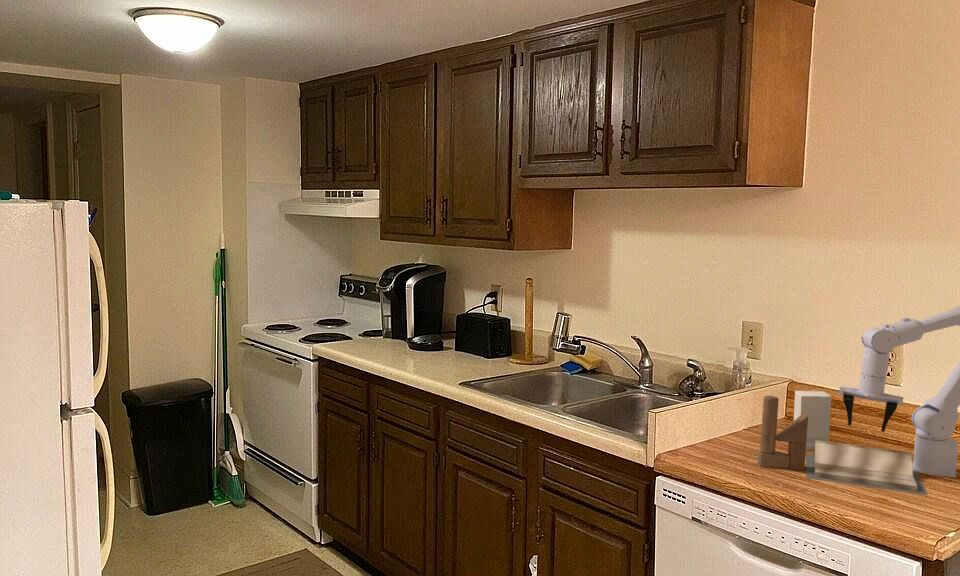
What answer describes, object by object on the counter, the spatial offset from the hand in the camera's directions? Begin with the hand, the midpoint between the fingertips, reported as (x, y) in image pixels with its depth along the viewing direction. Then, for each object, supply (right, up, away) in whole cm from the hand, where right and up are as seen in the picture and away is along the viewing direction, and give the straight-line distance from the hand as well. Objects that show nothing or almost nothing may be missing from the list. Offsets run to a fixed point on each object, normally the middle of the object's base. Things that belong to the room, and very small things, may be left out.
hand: (866, 427), depth 201 cm
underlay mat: (-3, -11, -4) cm, 12 cm away
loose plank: (-2, -8, -1) cm, 8 cm away
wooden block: (-22, -10, 0) cm, 24 cm away
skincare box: (-7, -9, +17) cm, 21 cm away
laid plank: (-5, -11, -9) cm, 15 cm away
